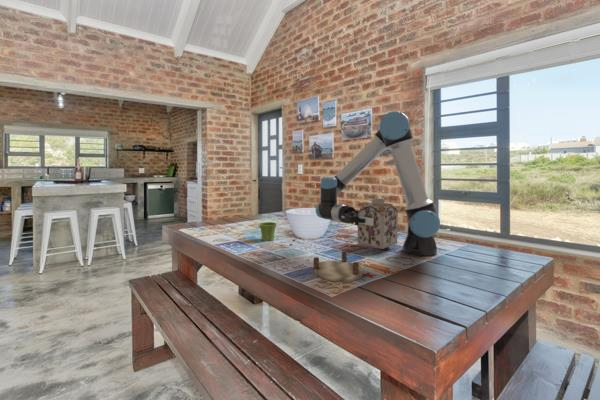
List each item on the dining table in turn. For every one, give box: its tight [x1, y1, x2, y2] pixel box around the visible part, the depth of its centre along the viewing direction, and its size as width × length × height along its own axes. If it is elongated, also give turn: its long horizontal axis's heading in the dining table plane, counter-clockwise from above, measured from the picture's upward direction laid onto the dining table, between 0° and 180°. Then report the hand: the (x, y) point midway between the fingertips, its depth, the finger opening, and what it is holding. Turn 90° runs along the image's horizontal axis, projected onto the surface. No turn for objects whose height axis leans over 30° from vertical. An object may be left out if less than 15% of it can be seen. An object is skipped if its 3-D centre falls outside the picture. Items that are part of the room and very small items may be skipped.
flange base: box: [312, 250, 364, 283], centre depth 120 cm, size 18×18×6 cm
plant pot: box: [258, 221, 278, 242], centre depth 171 cm, size 9×9×9 cm
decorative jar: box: [357, 198, 399, 250], centre depth 126 cm, size 12×12×18 cm
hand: (384, 220), depth 124 cm, fingers closed on decorative jar, 12 cm apart
